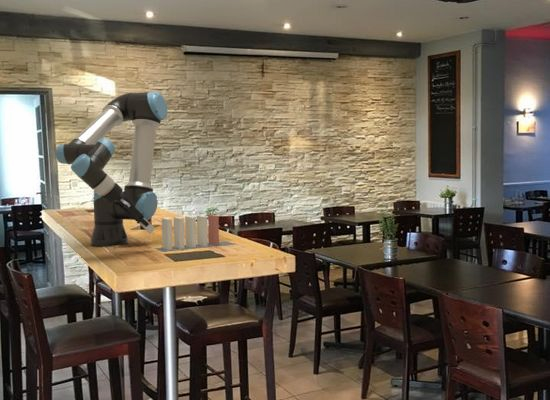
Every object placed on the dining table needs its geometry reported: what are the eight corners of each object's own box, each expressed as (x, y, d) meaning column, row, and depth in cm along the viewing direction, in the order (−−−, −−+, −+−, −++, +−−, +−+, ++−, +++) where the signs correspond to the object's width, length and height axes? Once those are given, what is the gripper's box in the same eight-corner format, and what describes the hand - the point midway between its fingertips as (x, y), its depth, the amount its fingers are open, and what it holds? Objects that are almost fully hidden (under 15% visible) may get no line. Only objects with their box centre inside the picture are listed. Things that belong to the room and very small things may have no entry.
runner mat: (153, 249, 242) (153, 248, 242) (225, 242, 259) (225, 241, 259) (162, 253, 234) (162, 251, 234) (236, 245, 251) (236, 244, 250)
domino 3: (192, 247, 242) (191, 217, 241) (185, 245, 248) (185, 216, 246) (196, 247, 243) (195, 217, 242) (190, 245, 248) (189, 215, 247)
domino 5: (214, 245, 248) (214, 216, 247) (208, 243, 253) (208, 214, 252) (218, 245, 249) (218, 215, 247) (212, 243, 254) (212, 214, 253)
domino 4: (203, 246, 245) (203, 216, 244) (197, 244, 250) (196, 215, 249) (207, 246, 246) (207, 216, 245) (201, 244, 251) (200, 215, 250)
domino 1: (168, 250, 237) (167, 219, 236) (162, 248, 242) (161, 217, 241) (172, 249, 238) (171, 219, 237) (166, 247, 243) (166, 217, 242)
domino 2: (180, 249, 240) (179, 218, 239) (174, 247, 245) (173, 217, 244) (184, 248, 241) (183, 218, 240) (178, 246, 246) (177, 216, 245)
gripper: (96, 195, 231) (140, 236, 241) (105, 198, 220) (151, 240, 230) (109, 181, 233) (153, 221, 243) (120, 182, 222) (165, 225, 232)
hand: (152, 230), depth 236 cm, fingers closed
